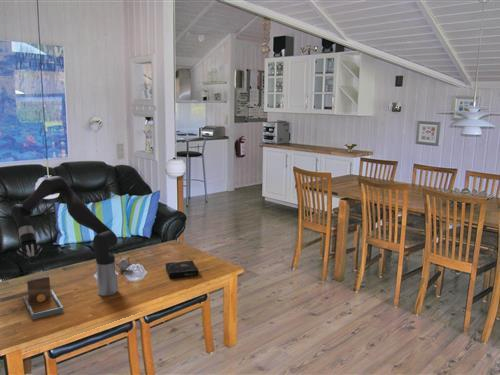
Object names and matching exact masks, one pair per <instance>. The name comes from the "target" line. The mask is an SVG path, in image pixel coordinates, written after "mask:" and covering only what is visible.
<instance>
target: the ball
mask: <svg viewBox="0 0 500 375" xmlns="http://www.w3.org/2000/svg"><path fill="white" fill-rule="evenodd" d="M45 300H46V298H45V295H43V294H39V295H38V296H37V300H36V301H37V302H38V303H43V302H44V301H45Z"/></svg>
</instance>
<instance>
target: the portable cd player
mask: <svg viewBox="0 0 500 375" xmlns="http://www.w3.org/2000/svg"><path fill="white" fill-rule="evenodd" d="M165 271H166V274H167V276H168V278H169V280H174V279H182V278H185V279H186V278H191V277H193V278H194V277H198V276H199V270H198V268H197V266H196V264H195V262H194V260H183V261H177V262H176V261H175V262H166V263H165Z"/></svg>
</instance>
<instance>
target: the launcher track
mask: <svg viewBox="0 0 500 375" xmlns="http://www.w3.org/2000/svg"><path fill="white" fill-rule="evenodd" d="M50 291H51V297H52V298H53V300H54V301H55V304H57V299H59V298H58V296H57V295H56V293H55V292H54V290H52V289H50ZM23 302H24V303H25V306H26V308H27V311H28V312H29V308H28V306H31V305H30V303H29V300H28V297H27V296H26V295H25V296H23Z"/></svg>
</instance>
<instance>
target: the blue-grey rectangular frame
mask: <svg viewBox="0 0 500 375" xmlns="http://www.w3.org/2000/svg"><path fill="white" fill-rule="evenodd" d="M56 305H57V307H56V308H52V309H51V308H50V309H48V310H43V311H39V312H35V313H34V311H33V309H32V307H31V305H30V306H28V308H29V311H28V312H29V314H30V317H31V319H32V321H33V320H37V319H41V318H45V317H49V316H53V315H58V314H61V313H64V306H63V305H62V303H61V302H60V300H59V298H58V299H57V303H56Z"/></svg>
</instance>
